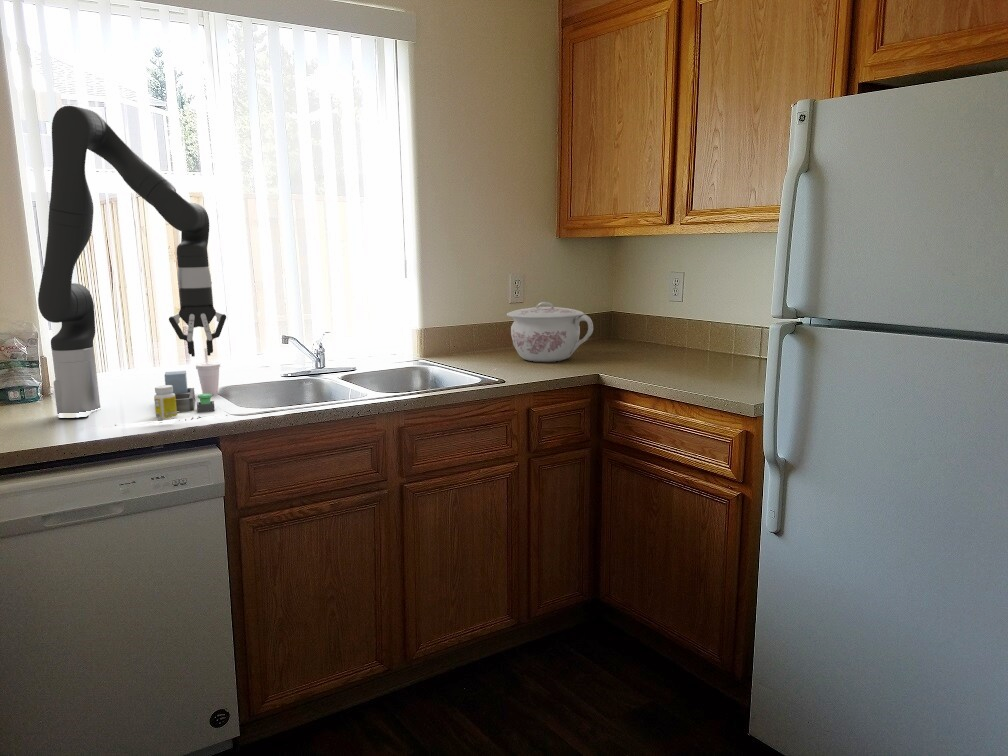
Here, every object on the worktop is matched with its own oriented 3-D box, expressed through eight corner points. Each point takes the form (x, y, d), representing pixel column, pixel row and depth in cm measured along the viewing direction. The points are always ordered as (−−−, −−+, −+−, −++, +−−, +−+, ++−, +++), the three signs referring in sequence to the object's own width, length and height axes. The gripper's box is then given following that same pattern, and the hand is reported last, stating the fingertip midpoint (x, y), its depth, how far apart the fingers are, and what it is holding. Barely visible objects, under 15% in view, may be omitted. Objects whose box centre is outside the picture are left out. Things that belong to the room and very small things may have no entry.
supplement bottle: (180, 417, 189) (177, 384, 187) (173, 422, 184) (169, 388, 182) (161, 418, 188) (157, 384, 187) (153, 422, 184) (149, 388, 182)
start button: (199, 412, 189) (197, 396, 189) (199, 410, 192) (198, 394, 191) (212, 411, 190) (211, 395, 190) (212, 408, 193) (211, 393, 193)
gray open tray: (158, 418, 188) (156, 401, 188) (162, 405, 204) (160, 389, 203) (194, 415, 191) (193, 398, 190) (195, 402, 207) (194, 387, 206)
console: (197, 417, 189) (196, 405, 188) (198, 413, 193) (197, 402, 192) (214, 415, 190) (213, 403, 190) (214, 412, 194) (213, 400, 193)
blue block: (167, 405, 198) (164, 375, 196) (168, 401, 202) (165, 372, 201) (188, 403, 200) (185, 373, 198) (188, 399, 204) (185, 370, 203)
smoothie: (215, 395, 217) (211, 346, 214) (227, 397, 213) (223, 348, 210) (194, 398, 212) (189, 349, 209) (206, 401, 208) (201, 350, 205)
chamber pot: (494, 357, 278) (493, 301, 274) (560, 352, 289) (560, 297, 286) (529, 368, 253) (528, 306, 249) (599, 361, 264) (599, 302, 261)
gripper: (162, 287, 180) (169, 359, 183) (225, 285, 185) (231, 355, 188) (164, 286, 187) (171, 355, 190) (225, 284, 192) (230, 351, 195)
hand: (201, 355), depth 189 cm, fingers open, 3 cm apart
